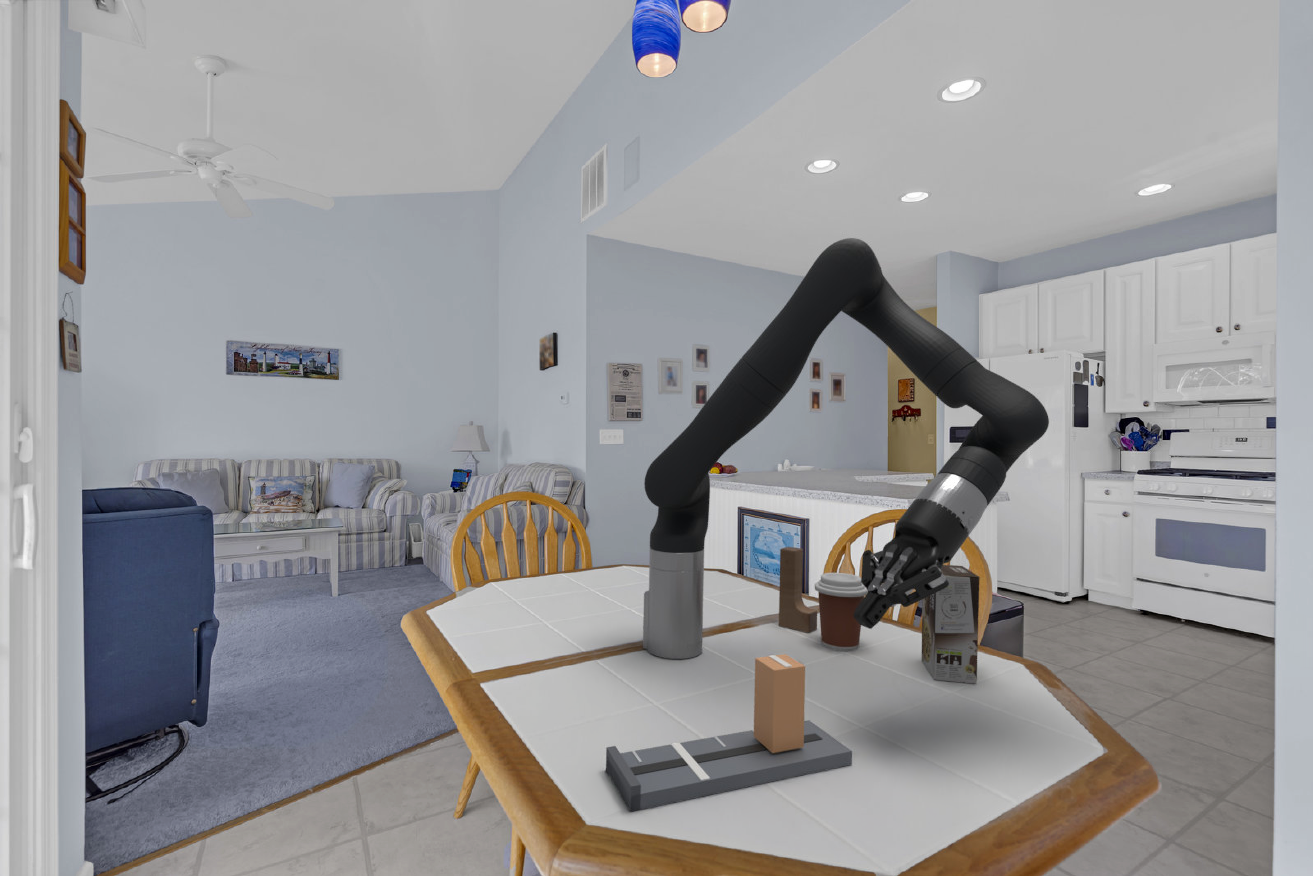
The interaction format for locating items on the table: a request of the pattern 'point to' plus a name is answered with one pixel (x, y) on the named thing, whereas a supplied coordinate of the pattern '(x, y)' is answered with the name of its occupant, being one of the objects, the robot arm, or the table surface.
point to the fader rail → (716, 766)
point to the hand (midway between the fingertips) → (861, 622)
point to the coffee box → (952, 627)
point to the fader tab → (779, 703)
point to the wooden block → (794, 593)
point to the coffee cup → (840, 610)
